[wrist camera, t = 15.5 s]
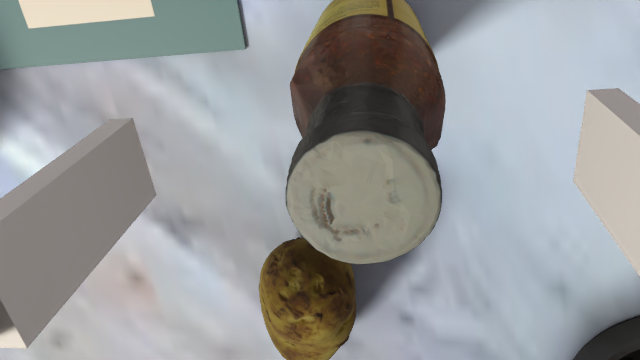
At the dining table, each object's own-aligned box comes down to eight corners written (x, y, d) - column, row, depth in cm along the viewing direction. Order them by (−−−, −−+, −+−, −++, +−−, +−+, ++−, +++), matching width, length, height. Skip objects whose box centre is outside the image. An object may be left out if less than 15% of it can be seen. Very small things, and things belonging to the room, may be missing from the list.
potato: (236, 304, 41) (204, 382, 34) (297, 191, 35) (273, 257, 28) (322, 343, 42) (308, 426, 35) (396, 239, 36) (397, 314, 29)
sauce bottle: (305, 65, 31) (192, 247, 13) (340, -35, 28) (254, 33, 10) (399, 102, 31) (408, 327, 14) (444, 8, 28) (528, 143, 11)
